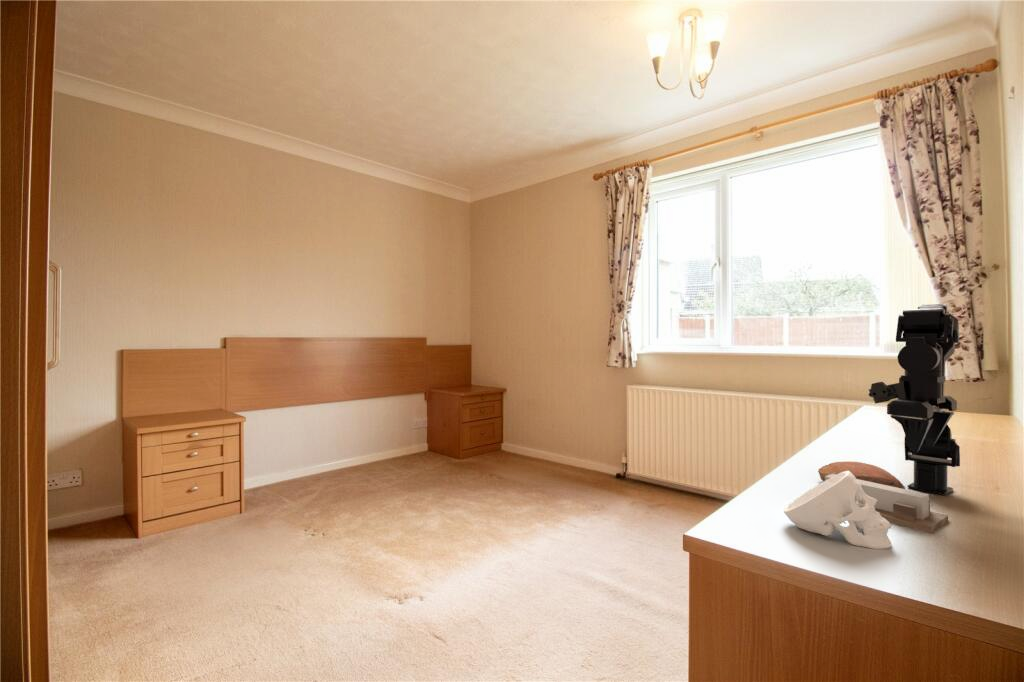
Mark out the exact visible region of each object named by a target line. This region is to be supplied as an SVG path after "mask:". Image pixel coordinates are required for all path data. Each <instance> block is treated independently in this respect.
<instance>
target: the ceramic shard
mask: <svg viewBox="0 0 1024 682" xmlns="http://www.w3.org/2000/svg"><path fill="white" fill-rule="evenodd" d="M844 471H850V472H851V473H852V474H853V475H854V476H855V478H856V479H859V480H864V481H869V482H873V483H878V484H883V485H887V486H892V487H897V488H901V489H906V487H905V486H904V484H903V483H902V482H901V481H900V480H899V479H898V478H897V477H896V476H894V475H893V474H891V473H890V472H889V471H887V470H886V469H883V468H881V467H880V466H876V465H874V464H871V463H870V464H869V463H865V462H860V461H835V462H830V463H829V464H825V465H823V466H821V467H820V468H818V470H817V472H818V475H819V478H820V480H821V481H822V482H824V481H825V476H828V475H831V474H836V475H837V474H839V473H842V472H844Z"/></svg>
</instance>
